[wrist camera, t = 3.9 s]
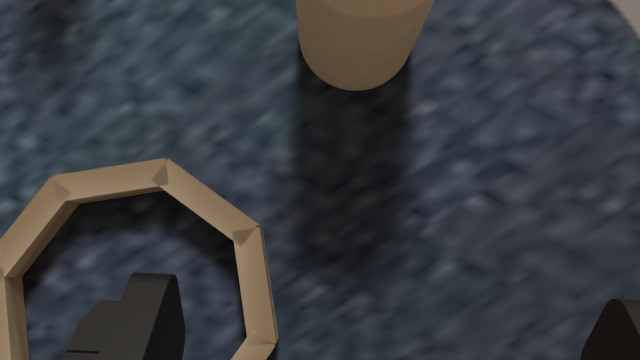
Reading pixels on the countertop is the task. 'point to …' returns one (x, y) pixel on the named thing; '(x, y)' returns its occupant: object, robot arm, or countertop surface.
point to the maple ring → (120, 181)
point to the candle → (359, 38)
